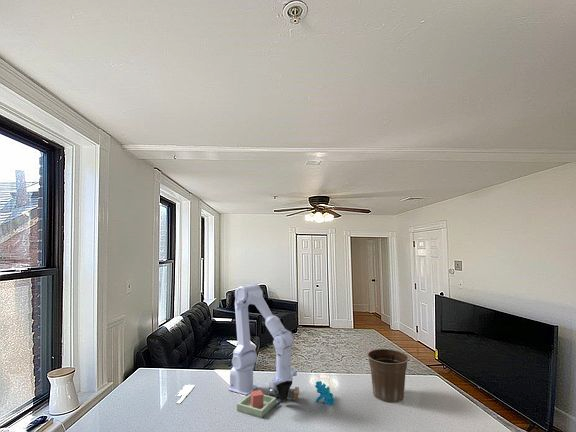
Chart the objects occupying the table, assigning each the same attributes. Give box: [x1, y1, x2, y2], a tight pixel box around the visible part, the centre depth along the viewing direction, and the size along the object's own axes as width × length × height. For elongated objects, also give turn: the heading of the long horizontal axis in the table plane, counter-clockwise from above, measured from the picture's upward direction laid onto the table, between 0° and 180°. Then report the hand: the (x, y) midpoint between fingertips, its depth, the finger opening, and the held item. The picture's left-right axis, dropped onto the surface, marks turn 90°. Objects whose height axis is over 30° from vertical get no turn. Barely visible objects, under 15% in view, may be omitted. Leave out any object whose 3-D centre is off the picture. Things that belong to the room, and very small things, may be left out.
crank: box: [268, 386, 300, 402], centre depth 135 cm, size 12×5×3 cm, turn 83°
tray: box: [236, 392, 277, 419], centre depth 128 cm, size 11×11×2 cm
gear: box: [314, 380, 335, 407], centre depth 133 cm, size 11×6×10 cm
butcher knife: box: [175, 384, 196, 405], centre depth 138 cm, size 5×15×1 cm, turn 173°
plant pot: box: [366, 348, 410, 403], centre depth 139 cm, size 16×16×16 cm
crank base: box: [267, 393, 282, 405], centre depth 137 cm, size 6×10×1 cm, turn 153°
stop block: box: [250, 389, 264, 409], centre depth 128 cm, size 4×4×5 cm
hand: (283, 400), depth 130 cm, fingers closed
